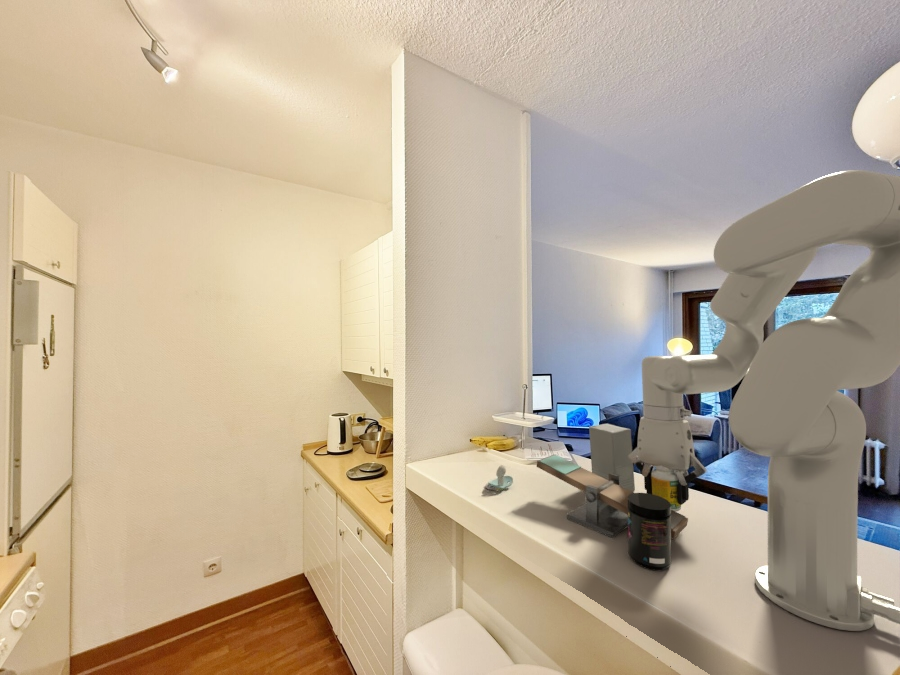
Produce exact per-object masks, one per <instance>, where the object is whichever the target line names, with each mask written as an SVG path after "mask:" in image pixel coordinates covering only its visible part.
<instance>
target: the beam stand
mask: <svg viewBox="0 0 900 675" xmlns="http://www.w3.org/2000/svg"><path fill="white" fill-rule="evenodd" d="M610 480H615V481H616V482H617V485H619V486H621V476H620V475H617V474H613V473H609V481H610ZM566 520H569V521H571V522H573V523H575V524H578V525H581V526H582V527H585V528H588V529H590V530H593V531H595V532H597V533H600V534H602V535H605V536H607V537H609V538H612V539H613V538H615V537H616V536H618V535H619V534H620V533H621V532H623V531H624V530H625V529H626V528H628V515H627V514H625V513H623V512H621V511H619V510H618V509H616V508H614V507H612V506H610V505H608V504H606V503H604V502H602V501H600V500H599V488H597V487H594V486H591V485H586V493H585V503H583V504H581V505H580V506H578V507H577V508H575V509H573V510H572V511H570V512H569V513H566Z"/></svg>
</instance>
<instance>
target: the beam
mask: <svg viewBox="0 0 900 675" xmlns="http://www.w3.org/2000/svg"><path fill="white" fill-rule="evenodd" d="M536 468H538V469H540V470H542V471H544V472H545V473H548V474H549V475H552V476H553V477H555V478H557V479H558V480H561V481H563V482H565V483H566V484H568V485H571V486H572V487H574V488H576V489H577V490H580V491H582V492H583V493H585V494H586V485H591V486H594V487H597V488H599V500H600V501H602V502H604V503H606V504H608V505H610V506H612V507H614V508H616V509H618V510H619V511H621V512H623V513H625V514H627V515H628V507H627V505H628V495H630V494H632V493H635V491H634V492H632V491H630V490H627V489H625V488H623V487H621V486H619V485H617V482H616V481H615V480H610V481H609V480H606V479H604V478H602V477H600V476H598V475H596V474H594V473H592V471H589V470H588V469H586V468H584V467H582V466H580V465H578V464H576V463H574V462H572V461H571V460H567V459H565V458H563V457H561V456H559V455H558V454H552V455H549V456H547V457H545V458H541V459H538V460H537V462H536ZM688 522H689V517H686V515H683V514H681V513H680V512H678V511H676V512H675V511H673V510H671V540H675V539H676V537H677V536H678V535H679V534H681V533H682V531H683V530H684V529H685V528H686V527H687V525H688Z"/></svg>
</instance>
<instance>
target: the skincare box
mask: <svg viewBox="0 0 900 675" xmlns="http://www.w3.org/2000/svg"><path fill="white" fill-rule="evenodd" d="M588 429H589V430H588V431H589V434H588V435H589V444H590V446H589V447H590V459H591V460H590V463H591V472H592V473H594V474H596V475H598V476H600V477H602V478H604V479H606V480H609V473H613V474H617V475H620V476H621V487H623V488H625V489H627V490H630V491H632V492H634V493H635V490H636V487H635V474H634V472H635V470H634V463H633V462H632V461H631V460H630V459H629V458H628V456H629V454H630V453H631V452H633V444H632V430H631V429H630V428H626V427H621V426H617V425H615V424H611V423H602V424H596V425H591V426H589V427H588Z"/></svg>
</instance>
